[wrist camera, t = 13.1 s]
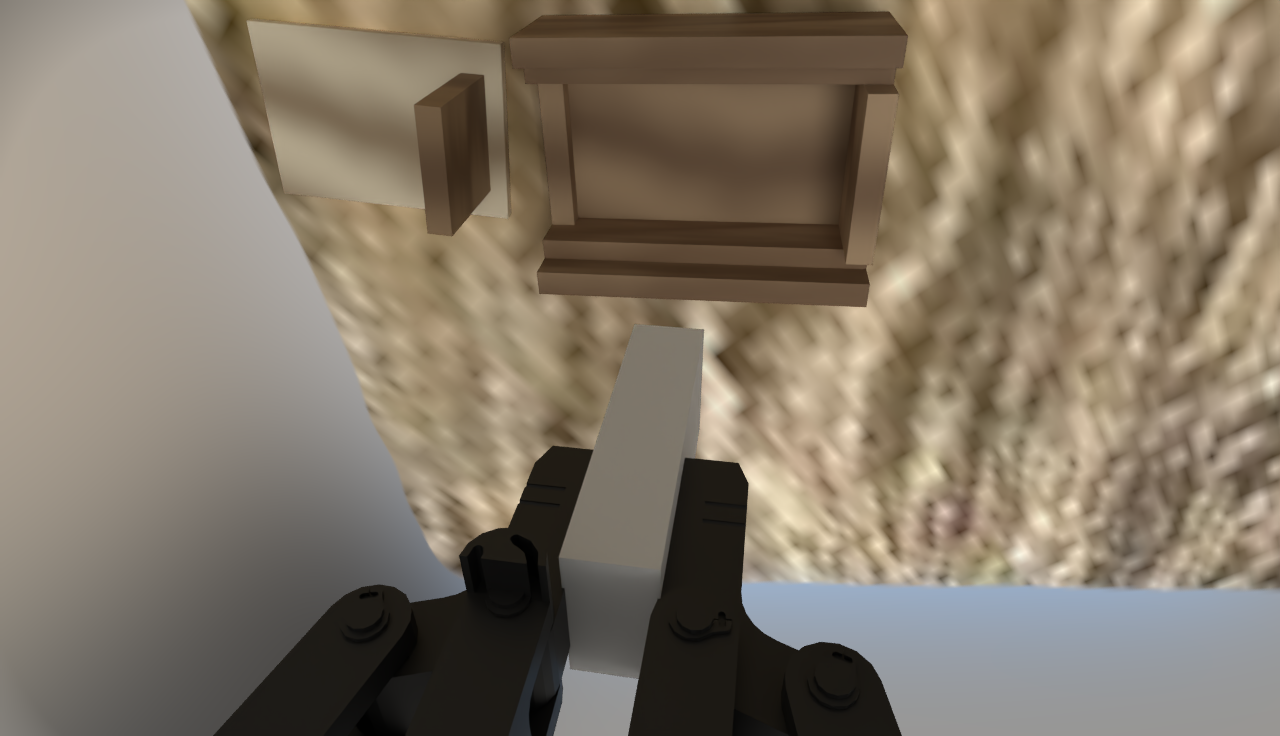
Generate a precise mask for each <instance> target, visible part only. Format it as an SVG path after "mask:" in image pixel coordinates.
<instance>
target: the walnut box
mask: <svg viewBox="0 0 1280 736" xmlns="http://www.w3.org/2000/svg"><path fill="white" fill-rule="evenodd" d="M907 38H908V35H907V34H906V33H905V31H904V30H903V29H902V27H901V26H900V25H899V24H898V22H897V21H896V20H895V18H894V17H893V16H892V15H891V13H890V12H823V13H730V14H638V15H546V16H541V17H540V18H538V19H537V20H535V21H534V22H532V23H531V24H529V25H528V26H526V27H525V28H523V29H522V30H521V31H519V32H518V33H516V34H515V35H513V36H512V37H510V38H509V41H510V50H511V58H512V67H513V69H524V75H525V84H538V90H539V100H540V110H541V120H542V129H543V139H544V149H545V159H546V168H547V178H548V188H549V198H550V207H551V217H552V226H551V228H550V229H549V231H548V233H547V234H546V236H545V238H544V239H543V246H544V255H545V259H544V261H543V263H542V264H541V266H540V268H539V270H538V271H537V277H538V285H539V294H557V295H582V296H606V297H631V298H656V299H680V300H705V301H729V302H754V303H779V304H803V305H828V306H853V307H866V305H867V299H868V292H869V286H870V284H869V279H868V275H867V271H866V267H867V265H873V260H874V253H875V247H876V240H877V234H878V227H879V221H880V214H881V208H882V201H883V195H884V188H885V182H886V175H887V169H888V162H889V156H890V149H891V143H892V136H893V130H894V123H895V117H896V110H897V104H898V97H899V93H898V92H897V90H896V88H895V86H894V79H895V72H896V68H903V64H904V58H905V51H906V45H907Z"/></svg>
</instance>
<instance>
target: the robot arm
mask: <svg viewBox="0 0 1280 736" xmlns="http://www.w3.org/2000/svg"><path fill="white" fill-rule="evenodd" d="M703 339H704V330H703V329H690V328H678V327H665V326H652V325H639V324H635V325H634V328H633V331H632V334H631V337H630V340H629V343H628V346H627V349H626V352H625V355H624V358H623V361H622V364H621V368H620V371H619V374H618V377H617V380H616V383H615V386H614V389H613V392H612V395H611V398H610V401H609V404H608V407H607V410H606V414H605V417H604V420H603V423H602V426H601V429H600V432H599V435H598V438H597V441H596V444H595V447H594V450H590V449H580V448H570V447H560V446H552V447H551V448H550V449H549V450H548V451H547V452H546V453H545V454H544V455H543V456H542V457H541V458H540V459H539V460H537V461H536V462H535V464H534V467H533V469H532V472H531V474H530V476H529V479H528V481H527V486H526V487H525V488H524V491H523V493H522V496H521V498H520V503H519V504H518V505H517V508H516V510H515V513H514V515H513V517H512V520H511V522H510V525H509V527H508V528H498V529H495V530H492V531H489V532H486V533H482V534H481V535H479V536H478V537H476V538H475V539H474V540H472V541H471V542H469V543H468V544H467V545H466V547H465V548H464V550H463V551H462V552H461V554H460V555H459V557H460V562H461V567H462V571H463V576H464V581H465V585H466V589H467V590H465V591H463V592H461V593H459V594H456V595H452V596H449V597H445V598H439V599H432V600H426V601H419V602H413V603H410V602H409V600H408V598H407V596H406V594H404V593H403V592H401V591H400V590H398V589H397V588H395V587H391V586H385V585H373V586H367V587H361V588H359V589H357V590H355V591H352V592H350V593H348V594H346V595H344V596H343V597H342V598H341V599H339V601H337V602H336V603H335V604H333V605H332V606H331V607H330V608H329V609H328V610H327V612H326V613H325V614H324V615H323V616H322V617H321V618H320V619H319V620H318V621H317V623H316V624H315V625H314V626H313V627H312V628H311V629H310V630H309V631H308V632H307V633H306V635H305V636H304V637H303V638H302V639H301V640H300V641H299V642H298V643H297V644H296V646H295V647H294V648H293V649H292V650H291V651H290V652H289V653H288V654H287V655H286V656H285V658H284V659H283V660H282V661H281V662H280V663H279V664H278V665H277V666H276V667H275V669H274V670H273V671H272V672H271V673H270V674H269V675H268V676H267V677H266V678H265V679H264V681H263V682H262V683H261V684H260V685H259V686H258V687H257V688H256V689H255V691H254V692H253V693H252V694H251V695H250V696H249V697H248V698H247V699H246V700H245V701H244V703H243V704H242V705H241V706H240V707H239V708H238V709H237V710H236V711H235V712H234V713H233V715H232V716H231V717H230V718H229V719H228V720H227V721H226V722H225V723H224V725H223V726H222V727H221V728H220V729H219V730H218V731H217V732H216V733H215V734H214V735H213V736H553V734H554V731H555V727H556V723H557V719H558V716H559V712H560V708H561V704H562V694H563V686H562V675H563V671H564V667H565V664H566V660H567V656H568V653H569V661H570V669H574V670H581V671H588V672H595V673H601V674H609V675H615V676H622V677H630V678H636V679H639V680H638V685H637V691H636V696H635V701H634V707H633V713H632V718H631V723H630V728H629V734H628V736H902V735H901V732H900V730H899V727H898V724H897V722H896V719H895V716H894V714H893V711H892V708H891V705H890V703H889V700H888V697H887V695H886V692H885V689H884V687H883V684H882V681H881V679H880V678H879V676H878V674H877V672H876V671H875V669H874V667H873V666H872V664H871V663H870V662H868V661H867V660H866V659H865V658H863V656H861V655H860V654H859V653H858V652H857V651H854V650H852V649H850V648H847V647H845V646H842V645H841V644H835V643H826V642H818V643H815V644H811V645H807V646H804V647H802V648H801V649H800V650H796V649H794V648H792V647H790V646H788V645H785V644H783V643H781V642H779V641H776V640H775V639H773V638H771V637H769V636H767V635H766V634H764V633H763V632H762V631H761V630H760V629H758V628H757V627H756V626H755V625H754V624H753V623H752V621H751V620H750V618H749V617H748V616H747V614H746V612H745V609H744V607H743V604H742V597H741V596H742V595H741V587H742V573H743V558H744V543H745V527H746V514H747V499H748V482H747V479H746V477H745V475H744V473H743V471H742V469H741V467H740V465H739V463H733V462H723V461H713V460H704V459H695V454H696V447H697V441H698V435H699V426H700V405H701V383H702V361H703Z"/></svg>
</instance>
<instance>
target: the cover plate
mask: <svg viewBox="0 0 1280 736" xmlns="http://www.w3.org/2000/svg"><path fill="white" fill-rule="evenodd" d="M247 25H248V29H249V34H250V39H251V43H252V48H253V52H254V57H255V61H256V66H257V71H258V75H259V80H260V84H261V89H262V93H263V98H264V103H265V107H266V112H267V116H268V121H269V126H270V130H271V135H272V139H273V144H274V148H275V153H276V158H277V162H278V167H279V171H280V176H281V180H282V185H283V190H284V193H287V194H295V195H304V196H313V197H322V198H331V199H339V200H348V201H357V202H366V203H375V204H383V205H392V206H401V207H410V208H418V209H425V212H426V222H427V231H428V233H429V234H437V235H446V236H453V235H454V233H455V232H456V231H457V230H458V229H459V228H460V226H461V225H462V224H463V223H464V222H465V221H466V219H467V218H468V217H469V216H470V215H480V216H489V217H498V218H506V219H508V218H509V217H510V215H511V193H510V169H509V145H508V121H507V96H506V72H505V48H504V42H501V41H490V40H479V39H469V38H458V37H447V36H436V35H425V34H415V33H404V32H393V31H382V30H372V29H361V28H350V27H339V26H328V25H318V24H307V23H296V22H285V21H275V20H264V19H251V20H247Z"/></svg>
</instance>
